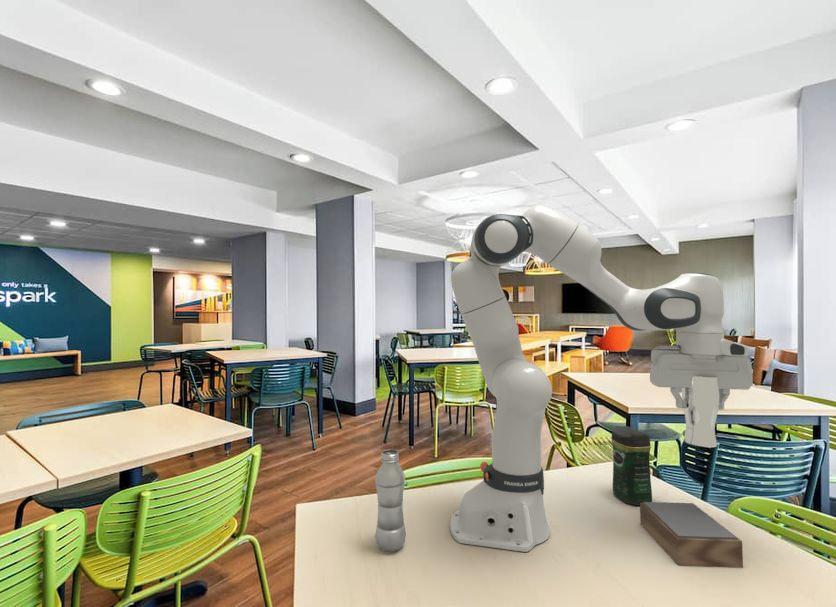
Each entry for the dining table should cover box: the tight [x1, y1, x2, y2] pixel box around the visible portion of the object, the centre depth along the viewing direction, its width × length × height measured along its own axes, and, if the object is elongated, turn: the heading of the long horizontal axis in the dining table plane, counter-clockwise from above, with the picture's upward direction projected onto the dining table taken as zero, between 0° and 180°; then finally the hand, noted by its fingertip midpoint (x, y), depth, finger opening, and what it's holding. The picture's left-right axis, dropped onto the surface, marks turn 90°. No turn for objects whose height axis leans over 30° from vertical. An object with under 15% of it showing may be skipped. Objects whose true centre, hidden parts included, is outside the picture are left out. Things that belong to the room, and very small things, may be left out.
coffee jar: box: [611, 425, 653, 506], centre depth 111 cm, size 10×8×19 cm
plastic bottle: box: [374, 449, 407, 552], centre depth 89 cm, size 6×7×20 cm
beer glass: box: [681, 376, 720, 448], centre depth 92 cm, size 7×7×15 cm
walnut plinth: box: [639, 501, 744, 568], centre depth 89 cm, size 12×16×5 cm
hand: (699, 408), depth 92 cm, fingers closed on beer glass, 6 cm apart
